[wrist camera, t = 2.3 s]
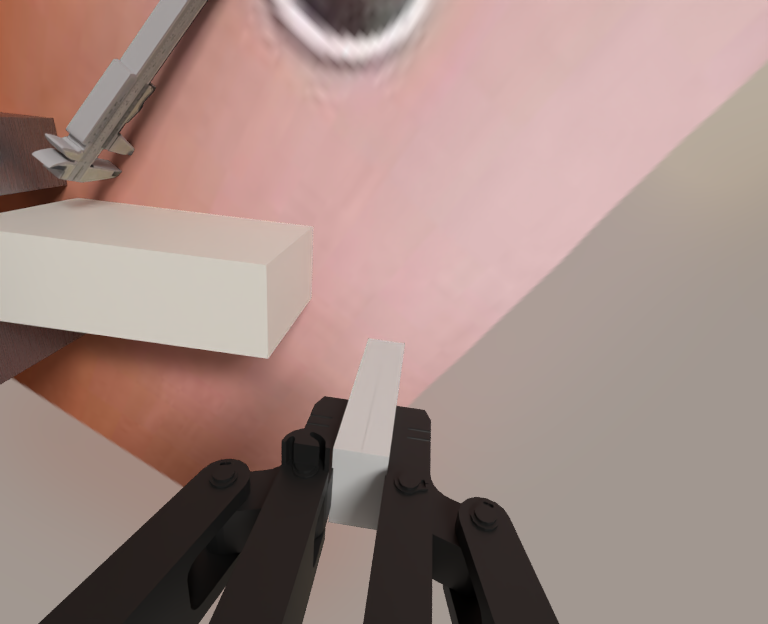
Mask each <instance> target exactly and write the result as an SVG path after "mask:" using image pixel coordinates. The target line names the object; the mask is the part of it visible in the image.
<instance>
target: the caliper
mask: <svg viewBox="0 0 768 624" xmlns="http://www.w3.org/2000/svg"><path fill="white" fill-rule="evenodd" d="M207 1H208V0H160V1H159V3H158V4H157V6H156V7H155V9H154V10H153V12H152V13H151V15H150V16H149V18H148V19H147V21H146V22H145V24H144V25H143V27H142V28H141V29H140V31H139V32H138V34H137V35H136V37H135V38H134V40H133V41H132V43H131V44H130V46H129V47H128V49H127V50H126V52H125V53H124V55H123V56H122V58H121V59H120V60H118V59H113V61H112V62H111V64H110V65H109V67H108V68H107V70H106V71H105V72H104V74H103V75H102V77H101V78H100V80H99V81H98V83H97V84H96V85H95V87H94V88H93V90H92V91H91V93H90V94H89V96H88V97H87V99H86V100H85V101H84V103H83V104H82V106H81V107H80V109H79V110H78V112H77V113H76V114H75V116H74V117H73V119H72V120H71V122H70V123H69V125H68V126H67V128H66V131H68V132H69V133H70V134H69V136H68V137H66V136H65V137H63V138H60V137H58V136H55V135H51V134H47V133H46V134H45V137H46V139H47V140H48V141H49V142H50V144H52V145H53V146H54V147H55V148H56V149H54V148H47V149H42V150H38V151H35V152H34V153H32V155H33V156H34V157H36V158H37V159H38V160H39V161H41V162H42V163H43V166H44V167H45V168H46V169H48V170H49V171H50V172H51V173H53V174H54V175H55V176H56V177H58V178H59V179H64V180H70V181H76V182H90V181H97V180H104V179H110V178H115V177H116V176H118V175H119V174H120V173H121V172H122V171H121V170H120V169H118V168H117V167H116V166H115V165H114V164H112V163H111V162H110V161H109V160H104V159H99V158H97V157H98V155H99V154H100V153H101V151H102V150H103V149H107V150H108V151H111V152H115V153H118V154H122V155H126V154H128V155H132V153H133V151H134V150H135V149H134V148H133V146H132V145H131V144H130V143H129V142H128V141H127V140H126V139H125V138H124V137H123V136H122V135H121V134H120V133H119V132H120V131H121V129H122V128H123V126H124V125H125V124H126V123H128V122H129V121H130V120H131V119H132V118H133V117H134V116H135V115H136V114H137V113H138V112H139V111H140V110H141V108H142V107H143V104H144V102H145V101H146V100H147V98H148V97H149V96H150V95H151V94H152V93H153V92H154V91H155V89H156V87H155V86H154V85H153V84H152V83H151V81H152V79H153V78H154V76H155V75H156V74H157V72H158V71H159V69H160V68H161V66H162V65H163V64H164V62H165V61H166V59H167V58H168V56H169V55H170V54H171V52H172V51H173V49H174V48H175V46H176V45H177V44H178V42H179V41H180V39H181V38H182V36H183V35H184V34H185V32H186V31H187V29H188V28H189V26H190V25H191V24H192V22H193V21H194V19H195V18H196V16H197V15H198V14H199V12H200V11H201V9H202V8H203V6H204V5H205V4H206V2H207Z"/></svg>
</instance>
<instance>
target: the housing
mask: <svg viewBox="0 0 768 624" xmlns="http://www.w3.org/2000/svg"><path fill="white" fill-rule="evenodd" d="M46 133H47V134H51V135H55V136H57V135H56V130H55V125H54V120H53V118H46V117H37V116H28V115H19V114H10V113H1V112H0V195H6V194H13V193H19V192H26V191H32V190H38V189H45V188H51V187H58V186H64V185H67V183H66V180H64V179H59V178H58V177H56V176H55V175H54V174H53V173H51V172H50V171H49V170H48V169H46V168H45V167H44V166H43V163H42V162H41V161H39V160H38V159H37V158H36V157H34V156H33V155H32V153H34V152H35V151H38V150H42V149H47V148H54V149H56V148H55V147H54V146H53V145H52V144H50V142H49V141H48V140H47V139H46V137H45V134H46ZM85 334H86V333H82V332H75V331H68V330H61V329H54V328H47V327H39V326H32V325H25V324H18V323H11V322H4V321H0V384H2V383H4V382H5V381H7V380H9V379H10V378H12V377H14V376H15V375H17V374H19V373H21V372H22V371H24V370H26V369H27V368H29V367H31V366H32V365H34V364H36V363H37V362H39V361H41V360H42V359H44V358H46V357H48V356H49V355H51V354H53V353H54V352H56V351H58V350H59V349H61V348H63V347H64V346H66V345H68V344H70V343H71V342H73V341H75V340H76V339H78V338H80V337H81V336H83V335H85Z"/></svg>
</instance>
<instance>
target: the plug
mask: <svg viewBox="0 0 768 624" xmlns="http://www.w3.org/2000/svg"><path fill="white" fill-rule="evenodd" d="M313 227H314V226H306V225H298V224H290V223H282V222H273V221H265V220H257V219H249V218H240V217H232V216H224V215H216V214H207V213H199V212H191V211H183V210H174V209H166V208H158V207H150V206H141V205H133V204H125V203H116V202H108V201H100V200H92V199H83V198H74V199H69V200H64V201H59V202H54V203H49V204H43V205H38V206H33V207H28V208H23V209H18V210H13V211H8V212H3V213H0V321H4V322H11V323H18V324H25V325H32V326H39V327H47V328H54V329H61V330H68V331H75V332H82V333H89V334H96V335H103V336H110V337H117V338H125V339H132V340H139V341H146V342H153V343H160V344H167V345H174V346H181V347H188V348H195V349H203V350H210V351H217V352H224V353H231V354H238V355H245V356H252V357H259V358H266V359H268V358H269V357H270V355H271V354H272V353H273V351H274V350H275V348H276V347H277V346H278V344H279V343H280V342H281V340H282V339H283V337H284V336H285V335H286V333H287V332H288V330H289V329H290V328H291V326H292V325H293V323H294V322H295V321H296V319H297V318H298V316H299V315H300V314H301V312H302V311H303V309H304V308H305V307H306V305H307V304H308V302H309V301H310V300H311V298H312V264H313Z"/></svg>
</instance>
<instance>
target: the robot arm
mask: <svg viewBox="0 0 768 624" xmlns="http://www.w3.org/2000/svg"><path fill="white" fill-rule="evenodd" d="M404 347H405V343H399V342H392V341H385V340H377V339H370V338H368V341H367V345H366V348H365V351H364V354H363V357H362V360H361V363H360V366H359V370H358V373H357V376H356V379H355V382H354V385H353V388H352V391H351V394H350V398H349V400H346V399H340V398H333V397H326V396H324V397H323V398H322V399H321V400H320V401H318V402H317V403H316V404H315V405H314V408H313V410H312V412H311V415H310V417H309V419H308V421H307V424H306V426H305V428H304V429H299V430H295V431H293V432H291V433H289V434H287V435H286V436H285V437H284V439H283V440H282V465H281V466H279V467H276V468H274V469H269V470H263V471H253V472H250V470H249V468H248V466H247V465H246V464H245V463H243V462H242V461H240V460H235V459H224V460H219V461H216V462H213V463H211V464H210V465H208V466H207V467H205V468H204V469H203V470H201V471H200V472H199V473H198V474H197V475H196V476H195V477H194V478H193V479H192V480H191V481H190V482H189V483H188V484H187V485H186V486H184V487H183V488H182V489H181V490H180V491H179V492H178V493H177V494H176V495H175V496H174V497H173V498H172V499H171V500H170V501H169V502H167V503H166V504H165V505H164V506H163V507H162V508H161V509H160V510H159V511H158V512H157V513H156V514H155V515H154V516H153V517H151V518H150V519H149V520H148V521H147V522H146V523H145V524H144V525H143V526H142V527H141V528H140V529H139V530H138V531H137V532H135V534H133V535H132V536H131V537H130V538H129V539H128V540H127V541H126V542H125V543H124V544H123V545H122V546H121V547H120V548H118V549H117V550H116V551H115V552H114V553H113V554H112V555H111V556H110V557H109V558H108V559H107V560H106V561H105V562H104V563H103V564H102V565H100V566H99V567H98V568H97V569H96V570H95V571H94V572H93V573H92V574H91V575H90V576H89V577H88V578H87V579H85V581H83V582H82V583H81V584H80V585H79V586H78V587H77V588H76V589H75V590H74V591H73V592H72V593H71V594H69V595H68V596H67V597H66V598H65V599H64V600H63V601H62V602H61V603H60V604H59V605H58V606H57V607H56V608H55V609H54V610H52V612H50V614H48V615H47V616H46V617H45V618H44V619H43V620H42V621H41V622H40V623H39V624H199V622H200V621H201V619H202V618H203V617H204V615H205V614H206V613H207V611H208V610H209V608H210V607H211V605H212V604H213V603H214V602H215V600H216V599H217V598H218V596H219V595H220V593H221V592H222V590H223V589H224V588H225V589H224V592H223V594H222V596H221V598H220V601H219V603H218V605H217V607H216V609H215V611H214V614H213V616H212V618H211V620H210V622H209V624H302V622H303V618H304V615H305V611H306V607H307V603H308V600H309V596H310V592H311V588H312V585H313V581H314V577H315V573H316V569H317V566H318V562H319V558H320V555H321V551H322V547H323V543H324V540H325V526H326V522H327V519H328V515H329V522H332V523H338V524H344V525H350V526H356V527H362V528H368V529H374V530H377V533H376V540H375V547H374V554H373V560H372V567H371V574H370V581H369V588H368V595H367V602H366V608H365V615H364V622H363V624H432V579H434V580H436V581H438V582H439V583H441V584H443V590H444V594H445V597H446V601H447V606H448V609H449V613H450V617H451V621H452V624H559V623H558V620H557V618H556V616H555V614H554V612H553V610H552V608H551V605H550V603H549V601H548V599H547V597H546V595H545V593H544V590H543V588H542V586H541V584H540V582H539V580H538V578H537V576H536V574H535V571H534V569H533V567H532V565H531V563H530V560H529V558H528V556H527V554H526V552H525V550H524V548H523V546H522V543H521V541H520V539H519V537H518V535H517V533H516V530H515V528H514V526H513V524H512V522H511V520H510V518H509V516H508V515H507V513H506V512H505V510H504V509H503V508H502V507H501V506H499V505H498V504H497V503H496V502H493V501H491V500H489V499H486V498H480V497H474V498H469V499H467V500H465V501H464V502H463V503H459V502H456V501H454V500H452V499H450V498H448V497H446V496H444V495H443V494H442V493H441V492H439V491H438V490H437V489H436V487H435V486H434V485H433V483H432V480H431V476H430V443H431V442H430V439H431V437H430V436H431V433H430V432H431V420H430V418H429V417H428V415H427V413H426V411H425V410H420V409H414V408H407V407H400V406H397V399H398V391H399V384H400V376H401V369H402V361H403V354H404Z"/></svg>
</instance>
